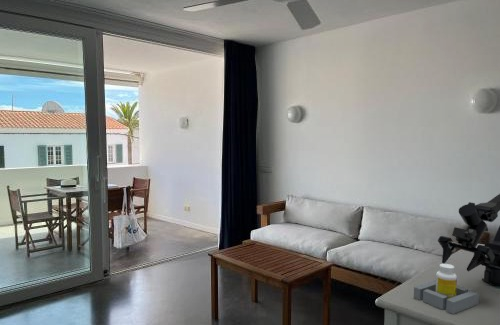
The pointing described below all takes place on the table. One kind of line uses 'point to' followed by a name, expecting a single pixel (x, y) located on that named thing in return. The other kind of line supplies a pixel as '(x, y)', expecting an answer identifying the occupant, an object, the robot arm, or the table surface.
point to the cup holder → (441, 301)
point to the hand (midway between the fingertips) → (454, 266)
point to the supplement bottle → (446, 281)
